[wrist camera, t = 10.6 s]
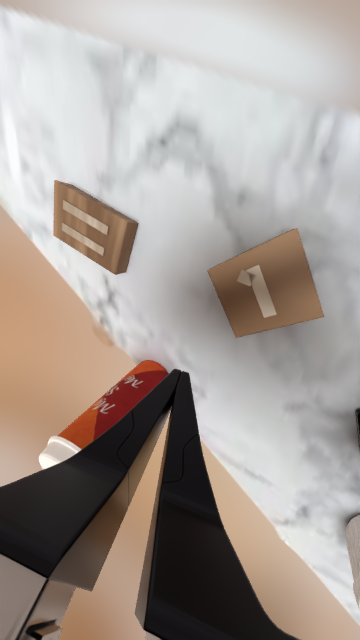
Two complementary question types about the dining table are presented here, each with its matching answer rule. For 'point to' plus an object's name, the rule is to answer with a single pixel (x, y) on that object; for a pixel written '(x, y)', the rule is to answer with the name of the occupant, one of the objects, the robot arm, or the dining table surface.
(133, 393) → the coffee cup
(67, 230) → the wooden block
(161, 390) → the robot arm
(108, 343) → the dining table surface
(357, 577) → the ramekin
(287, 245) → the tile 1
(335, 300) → the dining table surface
